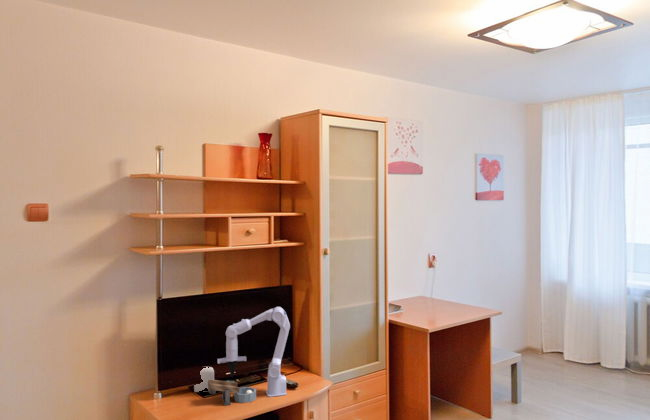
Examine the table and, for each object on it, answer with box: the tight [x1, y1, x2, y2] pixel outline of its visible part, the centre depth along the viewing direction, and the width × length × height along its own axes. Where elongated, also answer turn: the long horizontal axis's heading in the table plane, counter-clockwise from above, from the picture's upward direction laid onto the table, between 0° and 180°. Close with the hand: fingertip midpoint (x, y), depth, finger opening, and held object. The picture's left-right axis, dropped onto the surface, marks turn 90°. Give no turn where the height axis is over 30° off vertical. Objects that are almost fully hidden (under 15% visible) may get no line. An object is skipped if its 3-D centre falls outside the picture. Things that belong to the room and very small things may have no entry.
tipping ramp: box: [207, 379, 241, 395], centre depth 255 cm, size 15×15×4 cm
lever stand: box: [221, 389, 232, 406], centre depth 252 cm, size 3×12×8 cm, turn 18°
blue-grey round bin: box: [233, 386, 257, 404], centre depth 255 cm, size 11×11×4 cm
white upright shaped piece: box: [193, 366, 215, 393], centre depth 266 cm, size 10×4×12 cm, turn 104°
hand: (232, 375), depth 260 cm, fingers closed
